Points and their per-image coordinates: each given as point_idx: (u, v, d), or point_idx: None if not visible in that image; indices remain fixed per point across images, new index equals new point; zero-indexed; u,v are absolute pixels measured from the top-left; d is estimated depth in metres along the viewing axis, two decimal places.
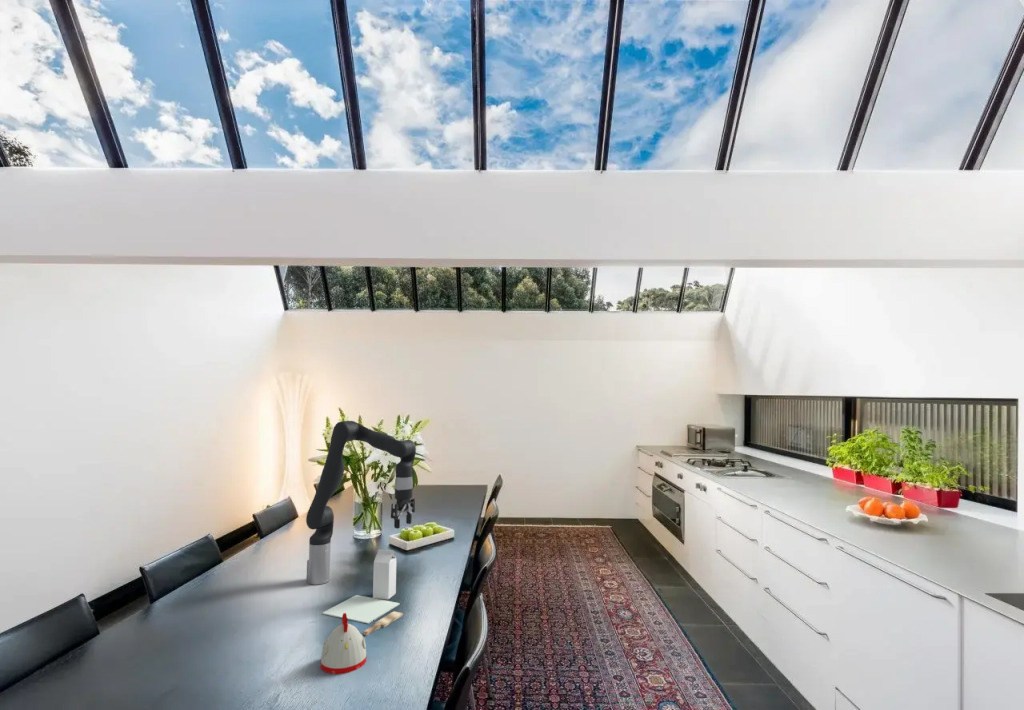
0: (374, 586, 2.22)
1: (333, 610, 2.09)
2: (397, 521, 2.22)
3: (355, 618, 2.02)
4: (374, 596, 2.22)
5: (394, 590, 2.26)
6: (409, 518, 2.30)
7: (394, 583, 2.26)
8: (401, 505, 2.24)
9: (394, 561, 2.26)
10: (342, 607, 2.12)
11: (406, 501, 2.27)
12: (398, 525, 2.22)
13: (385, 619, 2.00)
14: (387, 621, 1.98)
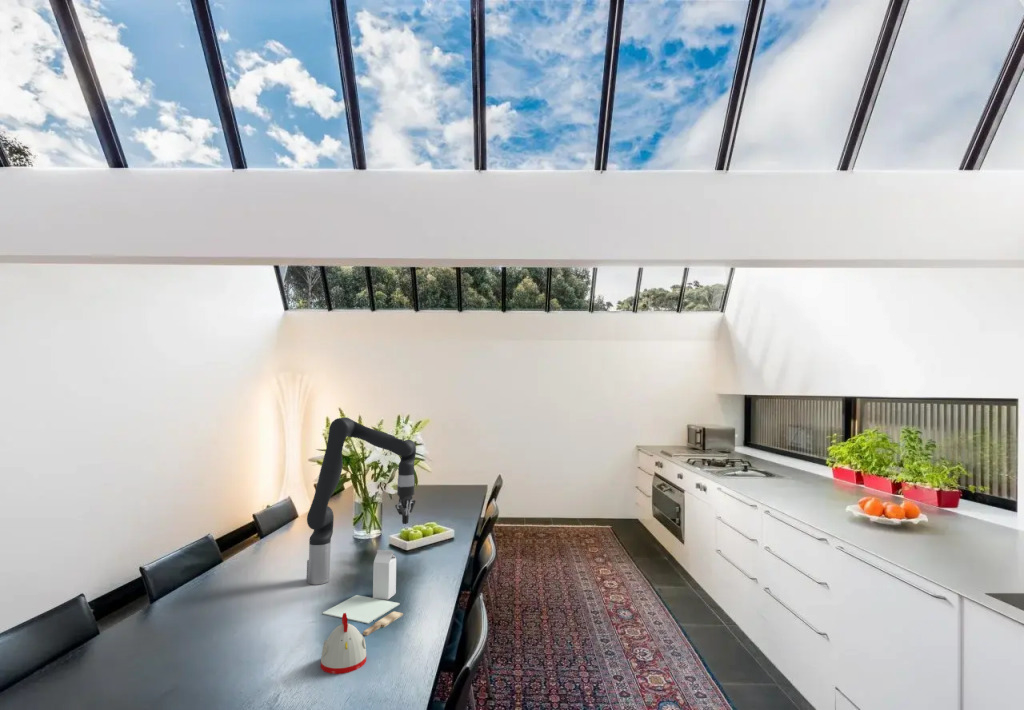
0: (374, 586, 2.22)
1: (333, 610, 2.09)
2: (405, 517, 2.39)
3: (355, 618, 2.02)
4: (374, 596, 2.22)
5: (394, 590, 2.26)
6: None
7: (394, 583, 2.26)
8: (403, 501, 2.37)
9: (394, 561, 2.26)
10: (342, 607, 2.12)
11: (408, 498, 2.41)
12: (406, 521, 2.39)
13: (385, 619, 2.00)
14: (387, 621, 1.98)
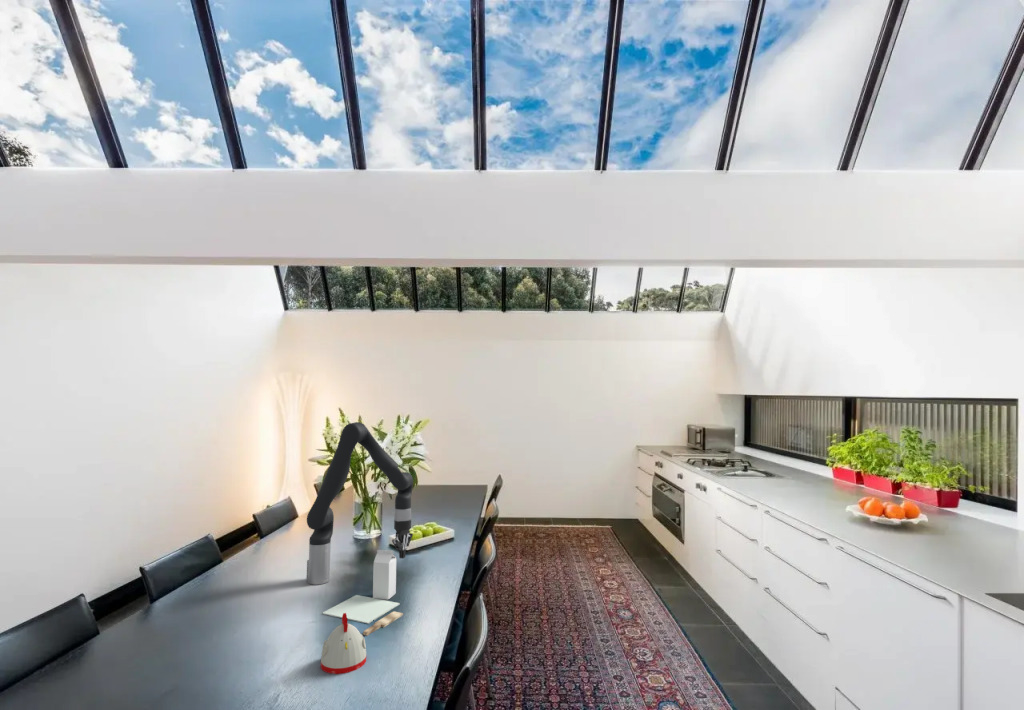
0: (374, 586, 2.22)
1: (333, 610, 2.09)
2: (402, 551, 2.36)
3: (355, 618, 2.02)
4: (374, 596, 2.22)
5: (394, 590, 2.26)
6: None
7: (394, 583, 2.26)
8: (400, 536, 2.35)
9: (394, 561, 2.26)
10: (342, 607, 2.12)
11: (405, 531, 2.38)
12: (403, 555, 2.36)
13: (385, 619, 2.00)
14: (387, 621, 1.98)
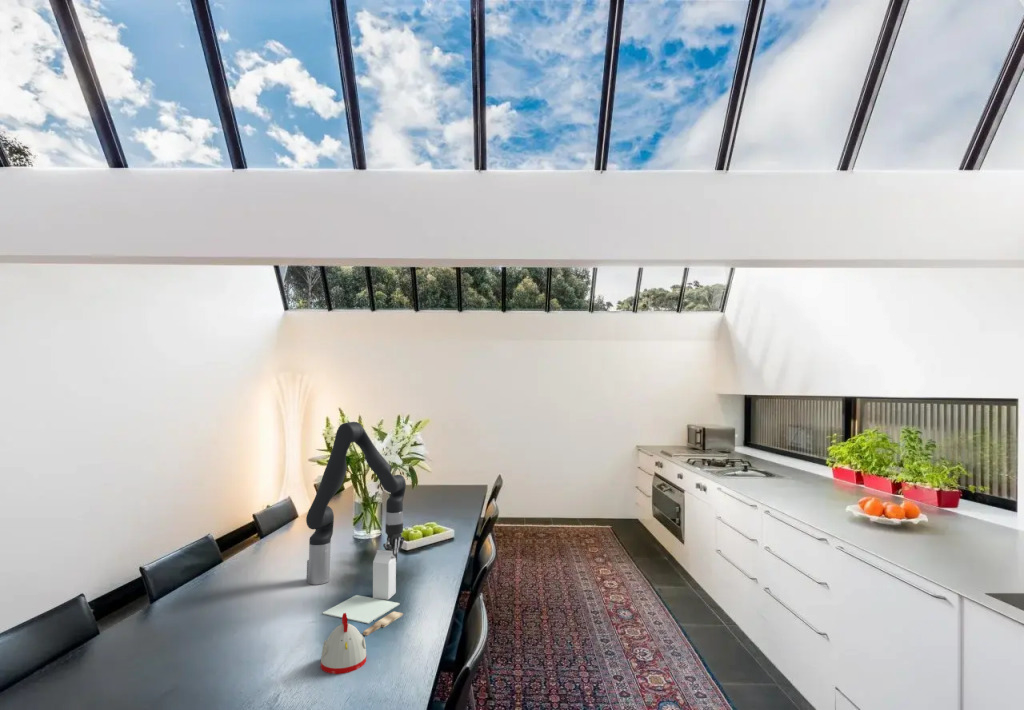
0: (374, 586, 2.22)
1: (333, 610, 2.09)
2: None
3: (355, 618, 2.02)
4: (374, 596, 2.22)
5: (394, 589, 2.26)
6: None
7: (394, 583, 2.26)
8: (392, 540, 2.29)
9: (393, 561, 2.26)
10: (342, 607, 2.12)
11: (397, 535, 2.32)
12: None
13: (385, 619, 2.00)
14: (387, 621, 1.98)
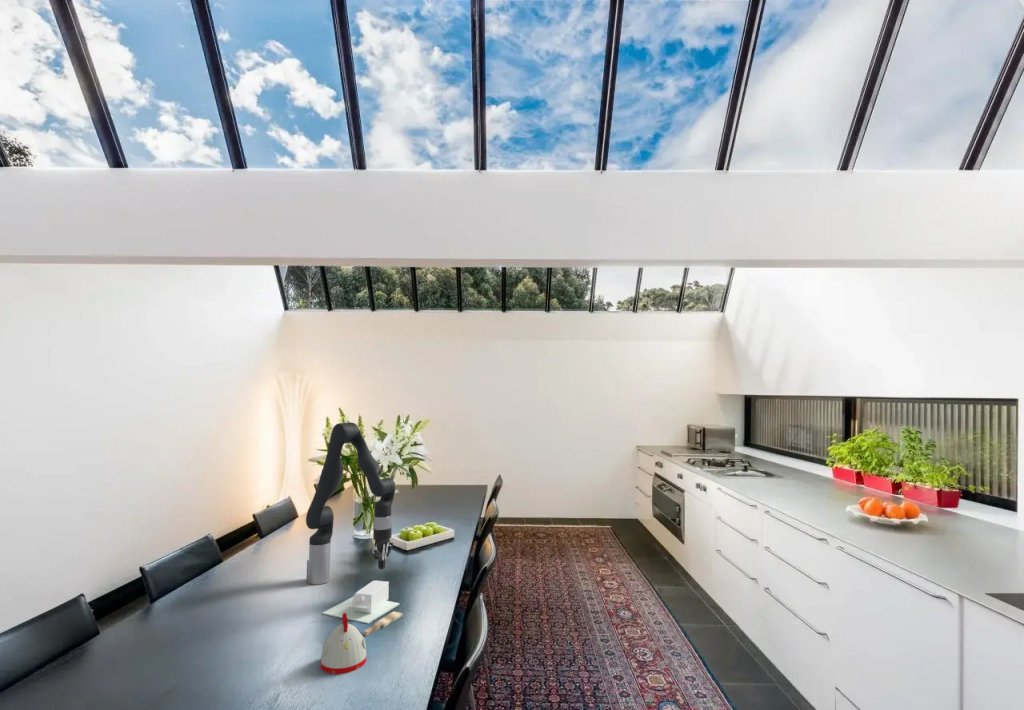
0: None
1: (333, 610, 2.09)
2: (381, 562, 2.22)
3: (355, 618, 2.02)
4: None
5: (386, 587, 2.19)
6: None
7: (383, 589, 2.16)
8: (380, 545, 2.21)
9: (372, 599, 2.07)
10: (342, 607, 2.12)
11: (385, 541, 2.24)
12: (382, 566, 2.23)
13: (385, 619, 2.00)
14: (387, 621, 1.98)
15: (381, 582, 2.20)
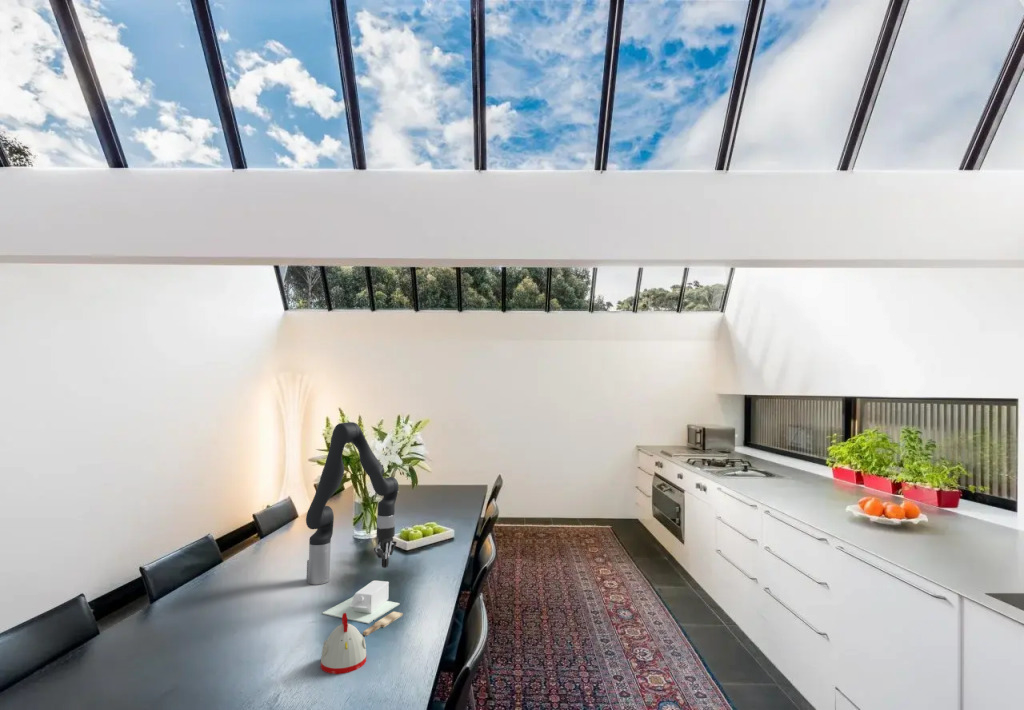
0: None
1: (333, 610, 2.09)
2: (384, 560, 2.25)
3: (355, 618, 2.02)
4: None
5: (386, 587, 2.19)
6: None
7: (383, 589, 2.16)
8: (383, 544, 2.23)
9: (372, 599, 2.07)
10: (342, 607, 2.12)
11: (388, 539, 2.26)
12: (385, 564, 2.25)
13: (385, 619, 2.00)
14: (387, 621, 1.98)
15: (381, 582, 2.20)
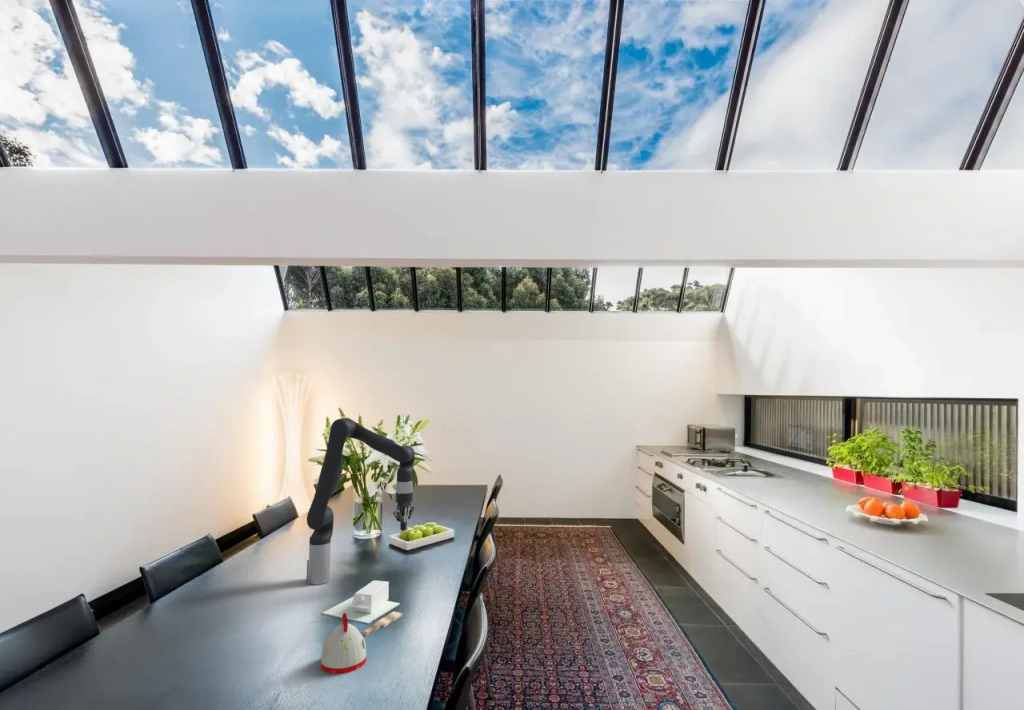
0: None
1: (333, 610, 2.09)
2: (403, 524, 2.37)
3: (355, 618, 2.02)
4: None
5: (386, 587, 2.19)
6: None
7: (383, 589, 2.16)
8: (402, 508, 2.35)
9: (372, 599, 2.07)
10: (342, 607, 2.12)
11: (406, 504, 2.39)
12: (404, 528, 2.37)
13: (385, 619, 2.00)
14: (387, 621, 1.98)
15: (381, 582, 2.20)
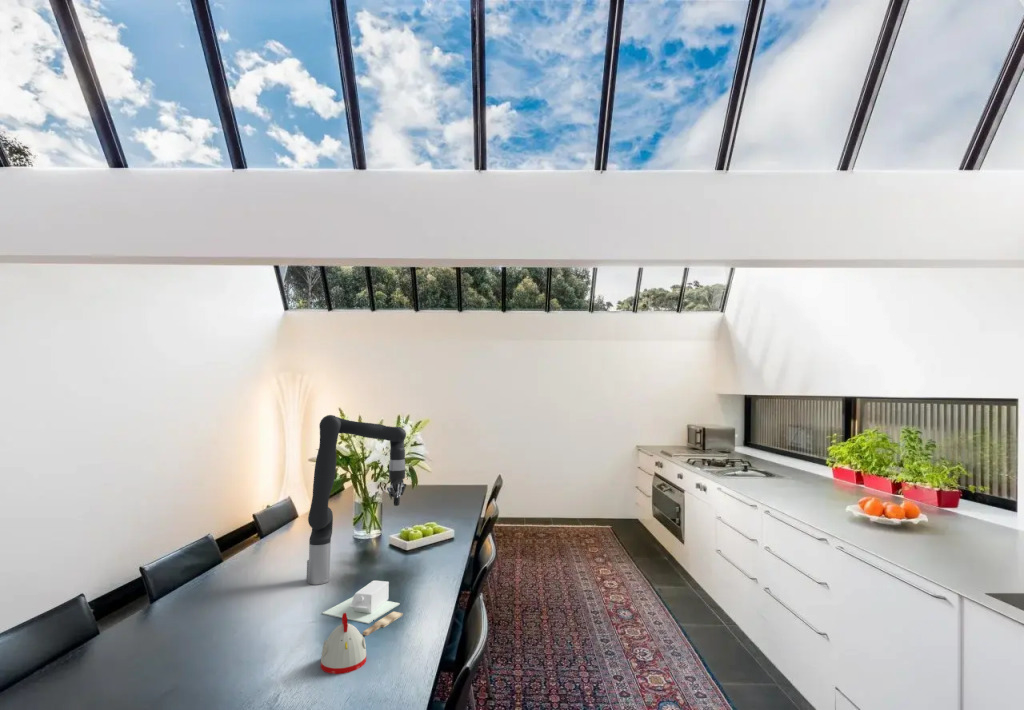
0: None
1: (333, 610, 2.09)
2: (396, 499, 2.53)
3: (355, 618, 2.02)
4: None
5: (386, 587, 2.19)
6: None
7: (383, 589, 2.16)
8: (395, 484, 2.52)
9: (372, 599, 2.07)
10: (342, 607, 2.12)
11: (399, 481, 2.55)
12: (397, 503, 2.53)
13: (385, 619, 2.00)
14: (387, 621, 1.98)
15: (381, 582, 2.20)
